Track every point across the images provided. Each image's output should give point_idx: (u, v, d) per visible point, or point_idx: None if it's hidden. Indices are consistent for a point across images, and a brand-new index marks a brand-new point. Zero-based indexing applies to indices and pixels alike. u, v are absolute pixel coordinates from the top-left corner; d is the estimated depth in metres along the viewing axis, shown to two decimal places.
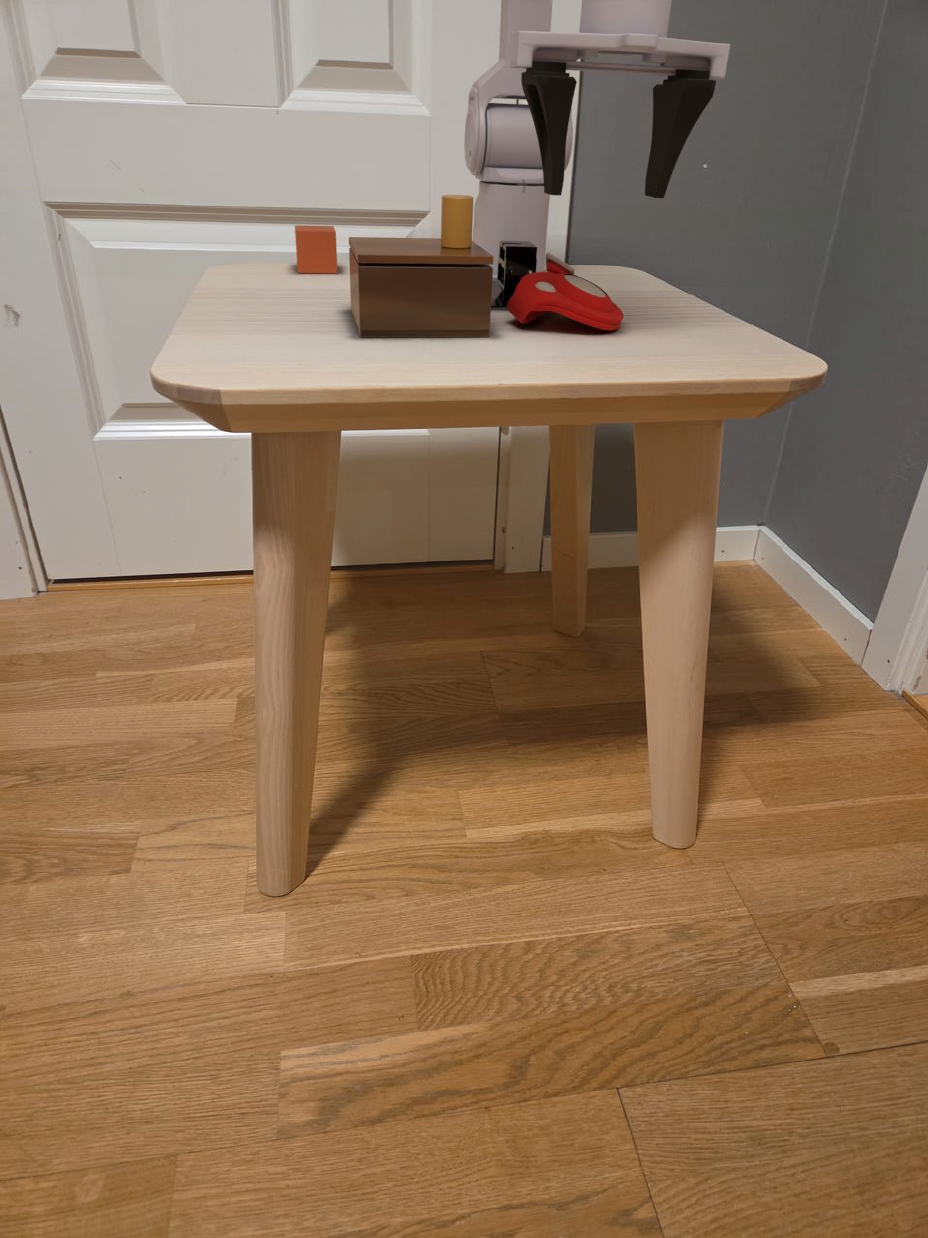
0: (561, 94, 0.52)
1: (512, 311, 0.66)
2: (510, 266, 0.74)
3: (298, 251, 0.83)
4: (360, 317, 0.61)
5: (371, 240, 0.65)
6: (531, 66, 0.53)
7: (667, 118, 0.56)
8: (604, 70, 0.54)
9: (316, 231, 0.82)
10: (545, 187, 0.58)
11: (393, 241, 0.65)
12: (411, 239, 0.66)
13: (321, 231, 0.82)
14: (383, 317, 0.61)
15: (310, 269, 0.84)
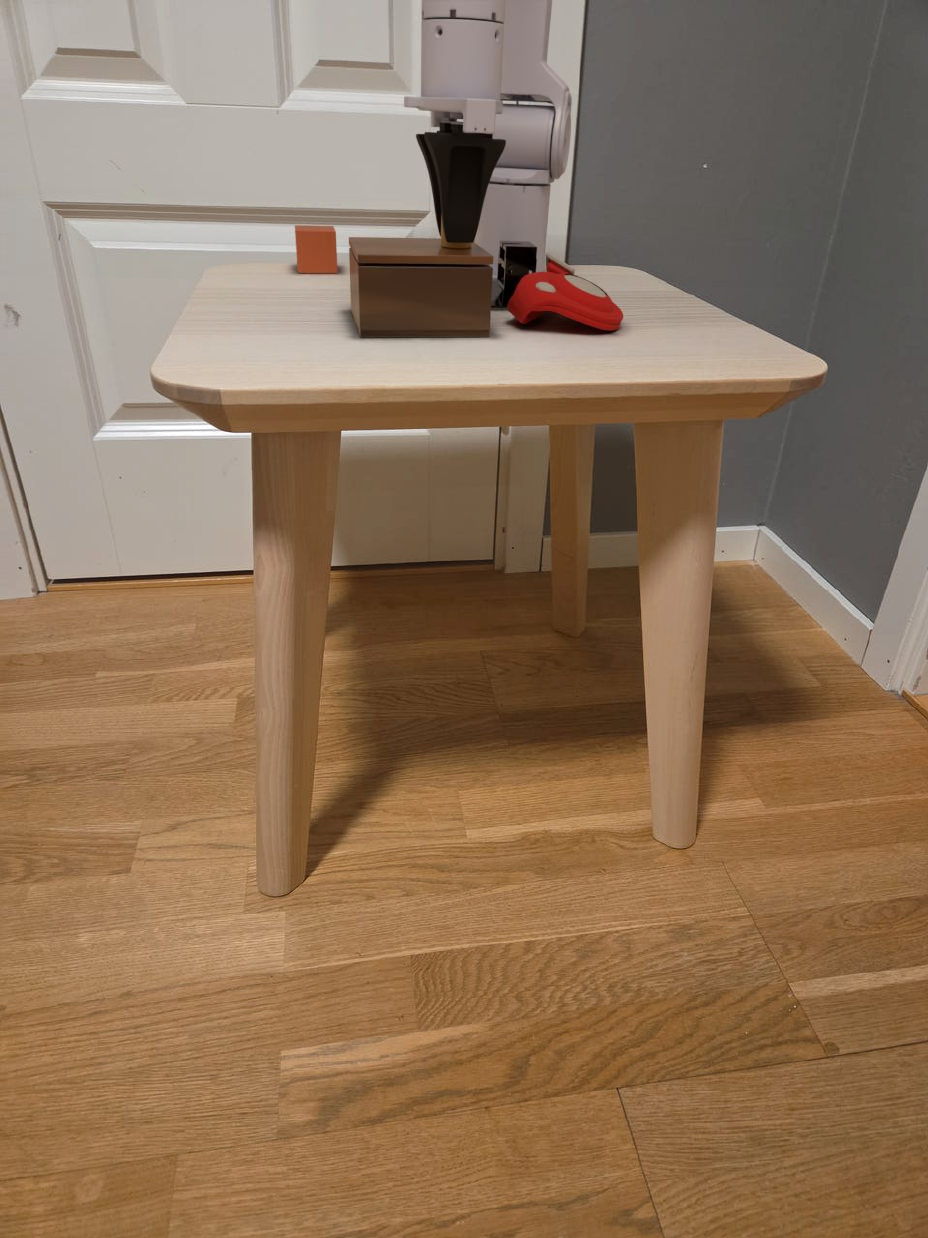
0: (422, 149, 0.62)
1: (512, 311, 0.66)
2: (510, 266, 0.74)
3: (298, 251, 0.83)
4: (360, 317, 0.61)
5: (371, 240, 0.65)
6: (434, 126, 0.64)
7: None
8: (452, 127, 0.60)
9: (316, 231, 0.82)
10: None
11: (393, 241, 0.65)
12: (411, 239, 0.66)
13: (321, 231, 0.82)
14: (383, 317, 0.61)
15: (310, 269, 0.84)
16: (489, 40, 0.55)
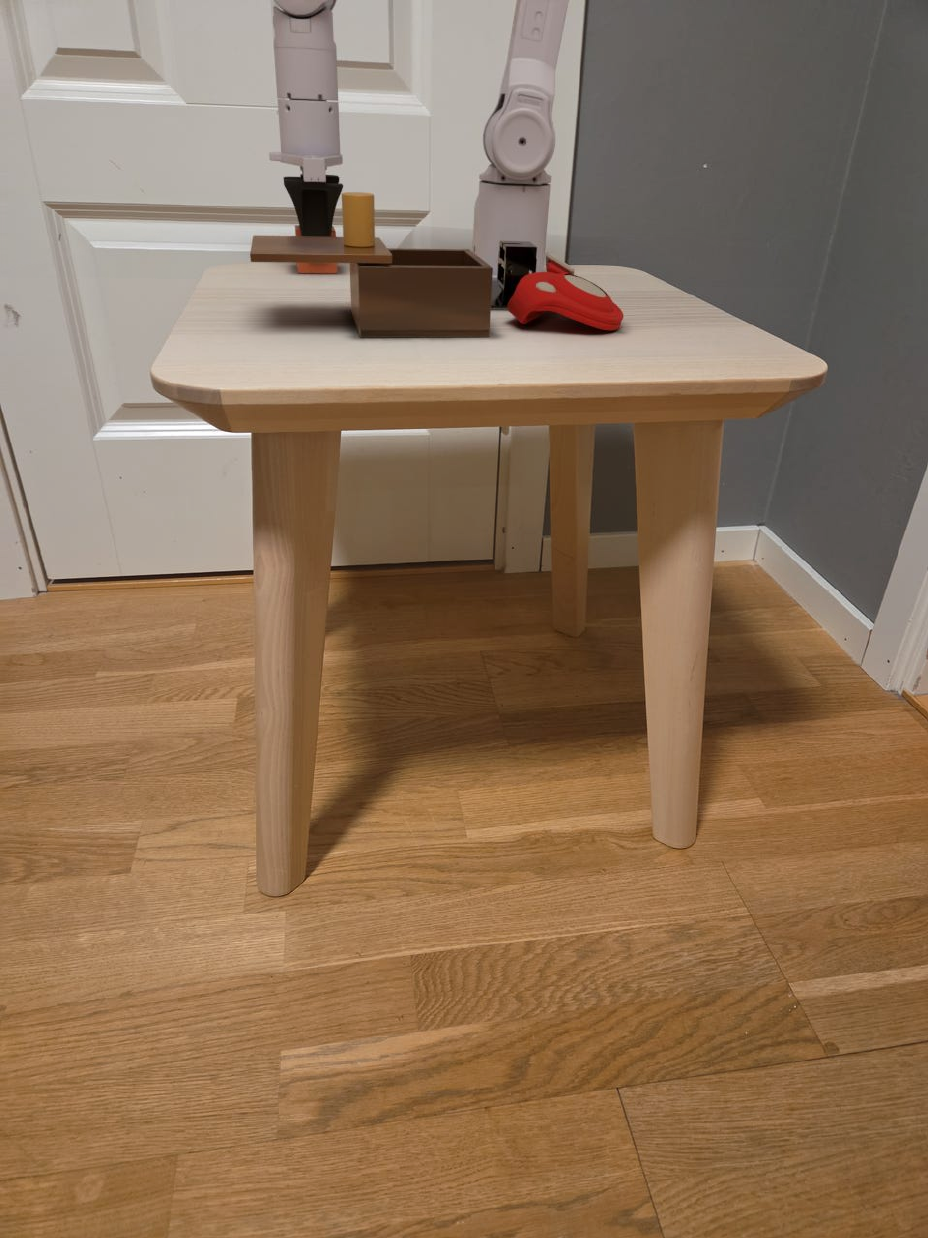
0: None
1: (512, 311, 0.66)
2: (510, 266, 0.74)
3: None
4: (360, 317, 0.61)
5: (274, 238, 0.63)
6: (301, 170, 0.86)
7: None
8: None
9: None
10: None
11: (296, 240, 0.63)
12: (317, 238, 0.65)
13: None
14: (383, 317, 0.61)
15: (310, 269, 0.84)
16: (324, 114, 0.76)
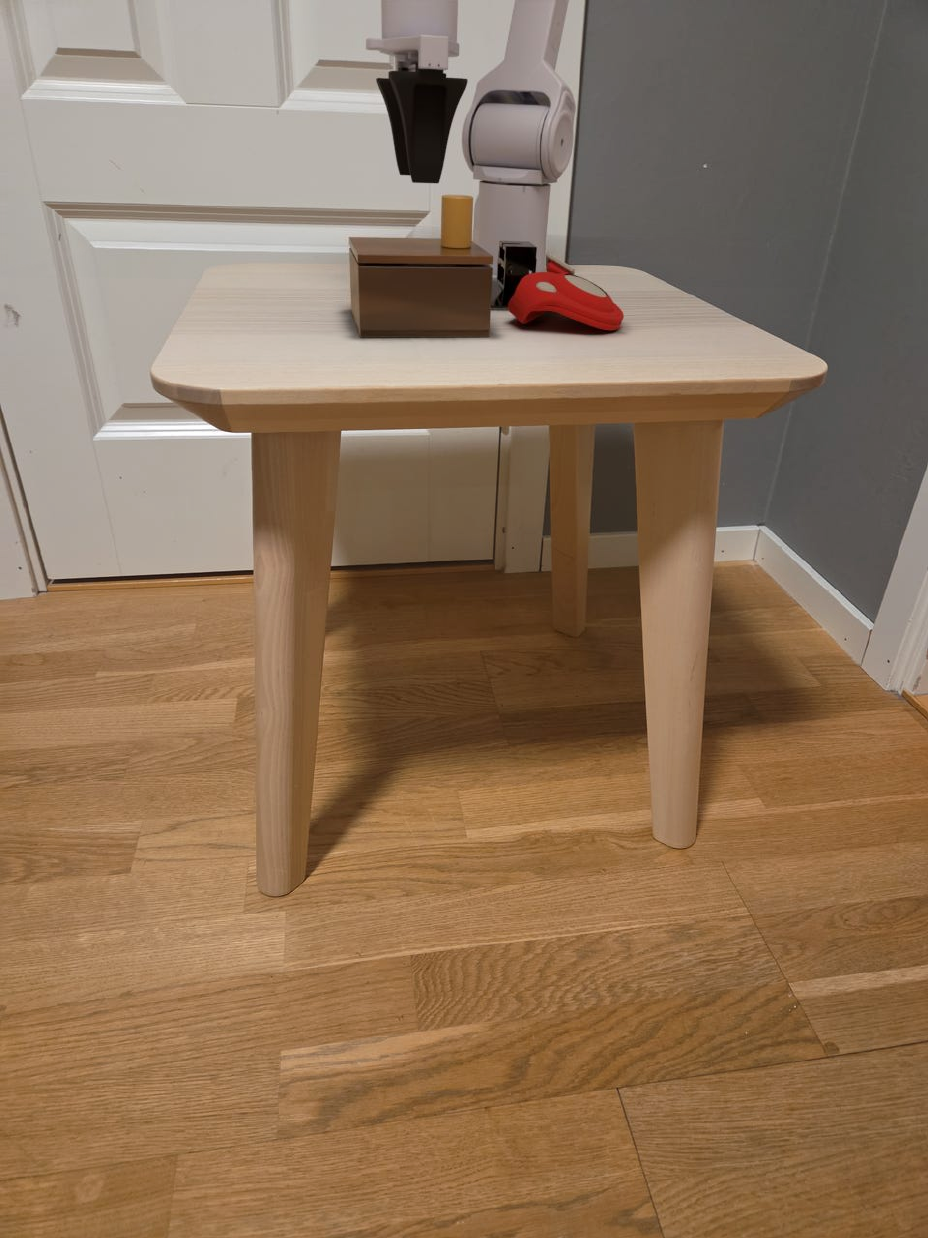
0: (382, 92, 0.67)
1: (513, 311, 0.66)
2: (510, 266, 0.74)
3: None
4: (360, 317, 0.61)
5: (371, 240, 0.65)
6: None
7: None
8: (412, 70, 0.64)
9: None
10: None
11: (393, 241, 0.65)
12: (411, 239, 0.66)
13: None
14: (383, 317, 0.61)
15: None
16: None
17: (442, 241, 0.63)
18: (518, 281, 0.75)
